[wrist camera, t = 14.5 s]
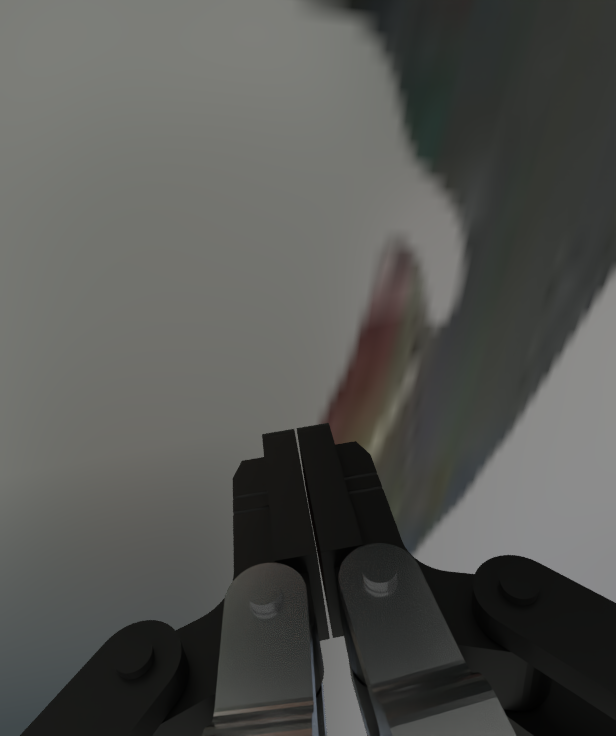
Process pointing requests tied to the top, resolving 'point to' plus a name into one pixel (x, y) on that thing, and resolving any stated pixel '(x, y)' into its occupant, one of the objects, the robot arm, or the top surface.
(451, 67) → the top surface
